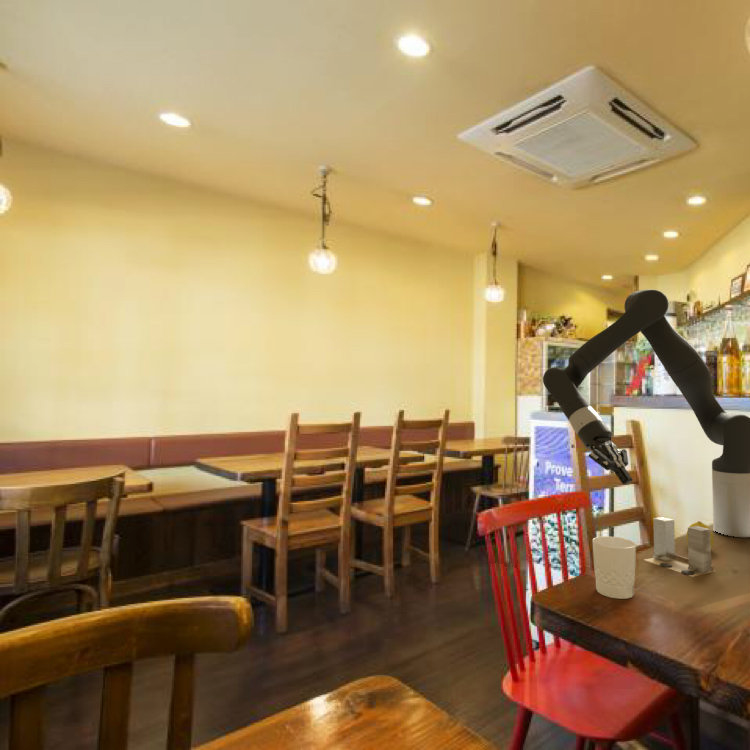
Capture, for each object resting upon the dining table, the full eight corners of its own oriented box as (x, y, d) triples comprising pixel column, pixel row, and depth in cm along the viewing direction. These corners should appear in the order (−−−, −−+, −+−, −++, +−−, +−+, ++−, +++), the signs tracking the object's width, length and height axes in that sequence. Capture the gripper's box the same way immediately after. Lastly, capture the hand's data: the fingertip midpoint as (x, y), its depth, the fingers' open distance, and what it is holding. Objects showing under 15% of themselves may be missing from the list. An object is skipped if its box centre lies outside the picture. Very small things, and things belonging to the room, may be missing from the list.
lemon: (712, 559, 121) (712, 525, 122) (685, 555, 125) (684, 522, 125) (714, 553, 126) (713, 520, 126) (688, 549, 129) (687, 517, 129)
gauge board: (665, 560, 121) (664, 516, 121) (715, 576, 110) (714, 528, 111) (642, 565, 118) (641, 520, 118) (691, 582, 107) (690, 533, 108)
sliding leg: (663, 555, 121) (662, 516, 121) (675, 559, 118) (674, 519, 118) (648, 558, 119) (648, 519, 119) (660, 562, 116) (659, 522, 116)
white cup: (599, 581, 108) (599, 534, 108) (641, 591, 103) (640, 540, 103) (588, 593, 102) (587, 542, 102) (631, 604, 97) (630, 550, 97)
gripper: (581, 418, 133) (621, 474, 122) (615, 419, 139) (655, 473, 129) (564, 435, 138) (600, 492, 127) (597, 436, 144) (634, 489, 133)
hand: (628, 482), depth 128 cm, fingers closed
